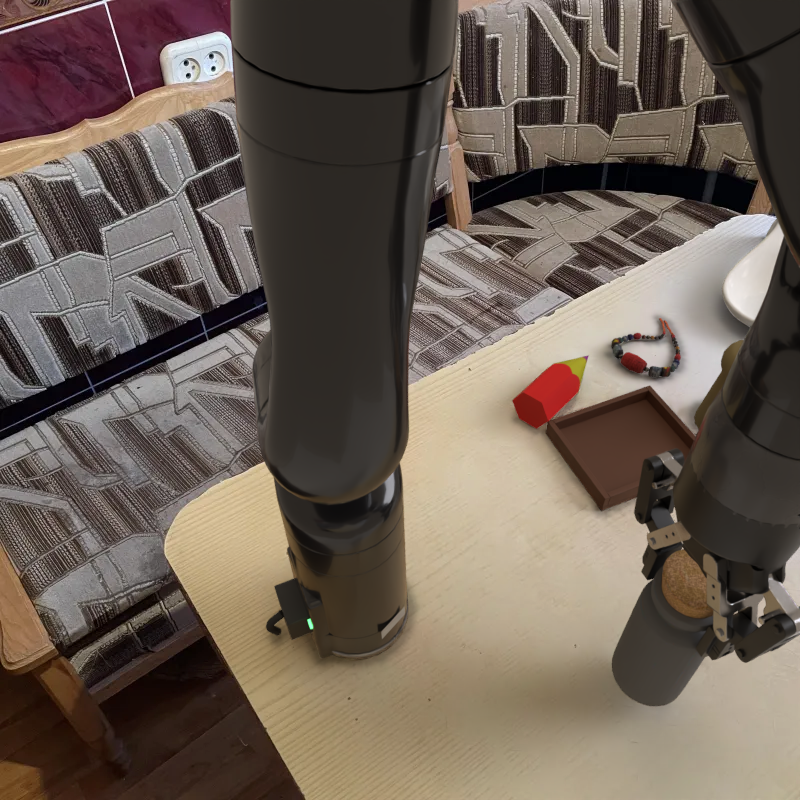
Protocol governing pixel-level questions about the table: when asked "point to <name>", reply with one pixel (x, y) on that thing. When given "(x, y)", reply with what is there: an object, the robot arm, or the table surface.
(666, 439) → the tray
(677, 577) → the bottle
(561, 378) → the pencil
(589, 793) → the table surface
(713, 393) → the pepper shaker
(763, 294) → the spoon rest
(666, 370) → the necklace
